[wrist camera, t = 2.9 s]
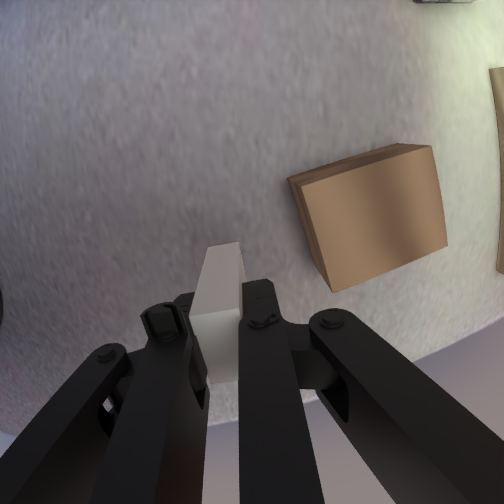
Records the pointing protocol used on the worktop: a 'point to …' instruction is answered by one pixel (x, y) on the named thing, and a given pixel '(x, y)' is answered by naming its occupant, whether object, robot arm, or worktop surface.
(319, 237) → the walnut block
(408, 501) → the robot arm
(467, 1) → the ink box
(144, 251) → the worktop surface
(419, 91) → the worktop surface
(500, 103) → the birch board
